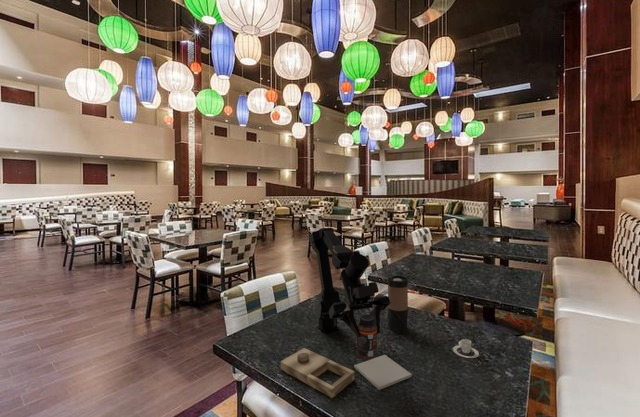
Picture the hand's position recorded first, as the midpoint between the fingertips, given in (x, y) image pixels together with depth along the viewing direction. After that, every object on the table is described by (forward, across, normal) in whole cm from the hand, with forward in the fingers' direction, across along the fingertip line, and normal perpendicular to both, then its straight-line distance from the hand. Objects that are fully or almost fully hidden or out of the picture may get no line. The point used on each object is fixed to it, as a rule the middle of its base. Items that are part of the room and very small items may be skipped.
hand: (369, 335), depth 88 cm
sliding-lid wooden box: (+4, -14, +15) cm, 21 cm away
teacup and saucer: (+9, +40, +11) cm, 43 cm away
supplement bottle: (+4, 0, +6) cm, 7 cm away
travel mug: (-8, +25, +27) cm, 38 cm away
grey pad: (+8, +5, +10) cm, 14 cm away
